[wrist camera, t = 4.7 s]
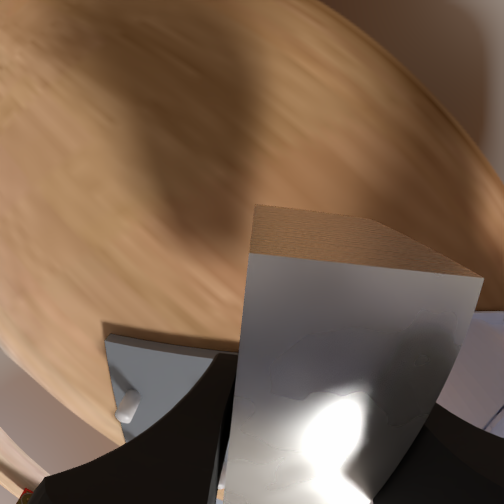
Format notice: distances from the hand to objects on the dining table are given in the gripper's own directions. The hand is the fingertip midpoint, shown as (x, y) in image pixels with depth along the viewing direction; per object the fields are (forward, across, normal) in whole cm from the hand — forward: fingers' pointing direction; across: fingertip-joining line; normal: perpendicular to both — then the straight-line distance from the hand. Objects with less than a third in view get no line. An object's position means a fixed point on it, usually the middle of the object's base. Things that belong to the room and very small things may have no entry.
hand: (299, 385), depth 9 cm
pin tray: (+9, +6, +13) cm, 17 cm away
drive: (+2, 0, 0) cm, 2 cm away
